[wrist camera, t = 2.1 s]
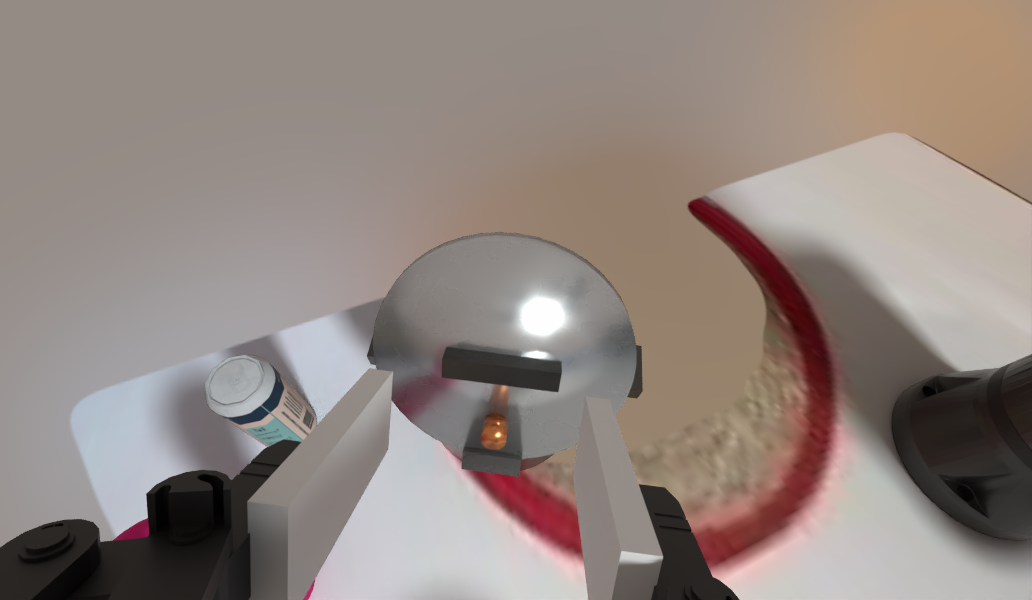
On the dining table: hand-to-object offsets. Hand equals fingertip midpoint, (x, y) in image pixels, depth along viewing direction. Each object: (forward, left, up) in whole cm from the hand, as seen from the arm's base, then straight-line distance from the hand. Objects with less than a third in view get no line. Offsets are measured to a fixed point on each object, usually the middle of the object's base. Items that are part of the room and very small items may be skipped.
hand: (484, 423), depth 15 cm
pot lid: (0, -8, -13) cm, 15 cm away
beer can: (+19, -6, -31) cm, 37 cm away
